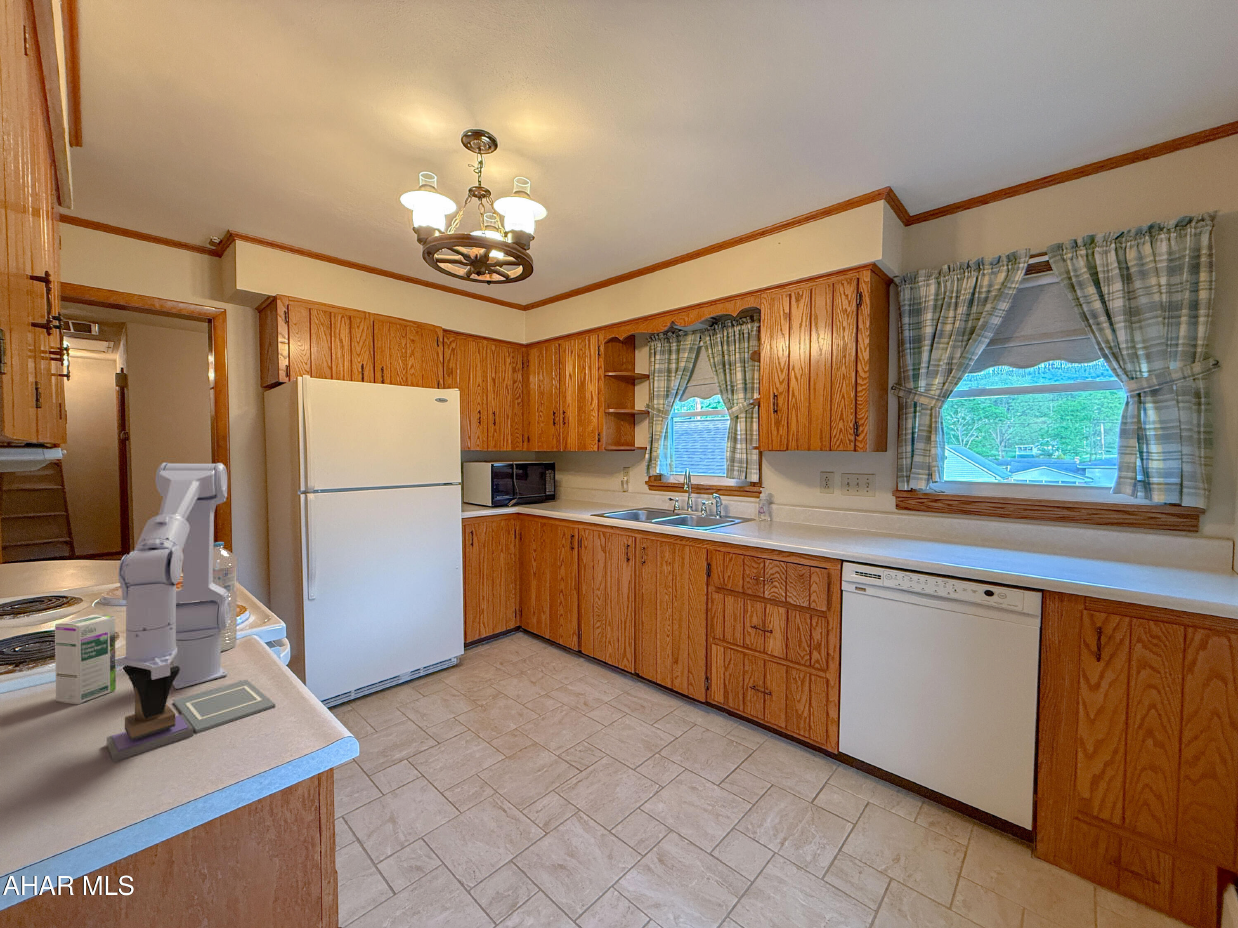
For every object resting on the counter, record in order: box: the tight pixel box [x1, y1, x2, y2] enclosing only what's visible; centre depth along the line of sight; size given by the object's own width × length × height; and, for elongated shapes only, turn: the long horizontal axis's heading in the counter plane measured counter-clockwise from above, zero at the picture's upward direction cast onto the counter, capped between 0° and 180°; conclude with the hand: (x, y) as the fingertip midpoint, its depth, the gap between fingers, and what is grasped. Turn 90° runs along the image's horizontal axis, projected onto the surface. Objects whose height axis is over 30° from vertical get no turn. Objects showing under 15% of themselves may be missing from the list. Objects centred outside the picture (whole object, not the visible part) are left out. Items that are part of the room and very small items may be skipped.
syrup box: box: [54, 614, 117, 705], centre depth 92 cm, size 6×6×14 cm
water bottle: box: [202, 541, 238, 653], centre depth 115 cm, size 7×7×25 cm
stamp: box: [124, 687, 176, 740], centre depth 78 cm, size 5×5×7 cm
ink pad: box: [106, 713, 194, 763], centre depth 78 cm, size 7×9×1 cm
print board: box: [173, 679, 276, 734], centre depth 89 cm, size 16×11×1 cm
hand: (151, 710), depth 78 cm, fingers closed on stamp, 3 cm apart
